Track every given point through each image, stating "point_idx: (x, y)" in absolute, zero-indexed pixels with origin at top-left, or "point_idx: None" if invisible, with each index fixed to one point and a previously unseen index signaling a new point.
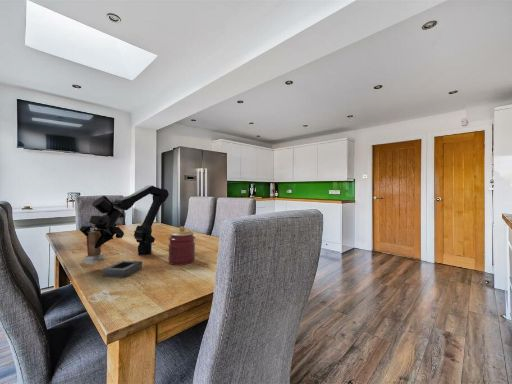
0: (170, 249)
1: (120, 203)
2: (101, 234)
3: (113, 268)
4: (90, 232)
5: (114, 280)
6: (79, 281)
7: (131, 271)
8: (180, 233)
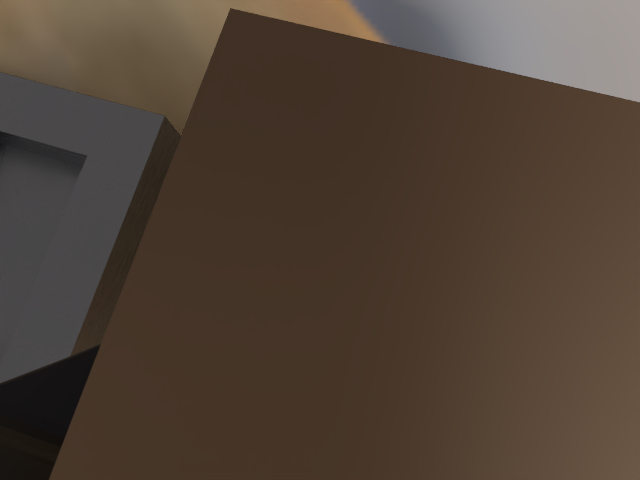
0: None
1: None
2: (9, 462)
3: (40, 122)
4: (633, 104)
5: (38, 30)
6: (354, 35)
7: None
8: None
